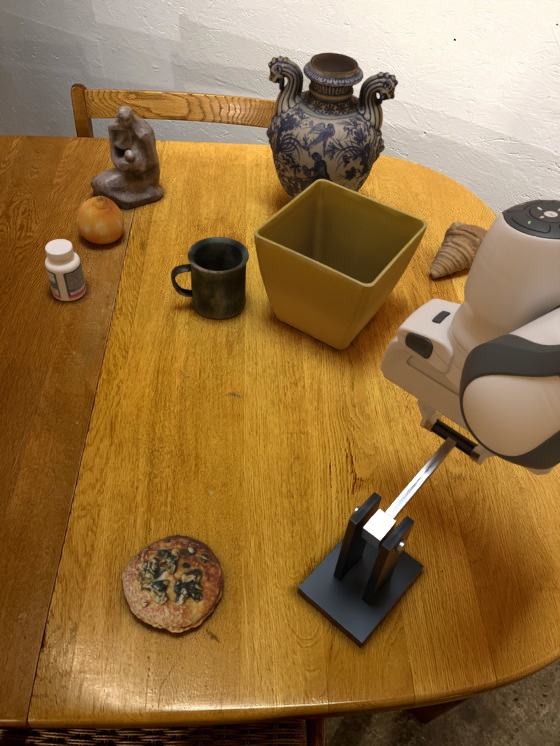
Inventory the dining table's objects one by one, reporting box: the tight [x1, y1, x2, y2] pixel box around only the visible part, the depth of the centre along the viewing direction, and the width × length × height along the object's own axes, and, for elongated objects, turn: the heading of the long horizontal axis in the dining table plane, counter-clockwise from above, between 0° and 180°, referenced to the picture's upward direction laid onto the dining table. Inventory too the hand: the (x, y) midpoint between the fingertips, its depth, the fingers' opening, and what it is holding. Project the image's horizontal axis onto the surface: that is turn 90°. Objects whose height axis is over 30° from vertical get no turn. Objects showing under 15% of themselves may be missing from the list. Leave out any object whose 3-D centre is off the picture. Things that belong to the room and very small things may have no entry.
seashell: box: [429, 221, 488, 280], centre depth 113 cm, size 14×8×8 cm
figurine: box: [90, 105, 164, 210], centre depth 118 cm, size 13×12×18 cm
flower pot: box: [253, 179, 429, 351], centre depth 99 cm, size 19×19×17 cm
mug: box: [170, 236, 250, 320], centre depth 101 cm, size 9×12×10 cm
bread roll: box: [121, 534, 225, 634], centre depth 71 cm, size 11×11×5 cm
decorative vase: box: [265, 52, 399, 201], centre depth 114 cm, size 21×19×28 cm
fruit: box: [76, 196, 125, 245], centre depth 113 cm, size 8×8×8 cm
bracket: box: [296, 491, 425, 648], centre depth 70 cm, size 12×9×14 cm
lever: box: [361, 419, 478, 550], centre depth 69 cm, size 16×5×2 cm, turn 138°
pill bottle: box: [44, 238, 87, 302], centre depth 102 cm, size 5×5×9 cm
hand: (452, 441), depth 72 cm, fingers closed on lever, 5 cm apart
